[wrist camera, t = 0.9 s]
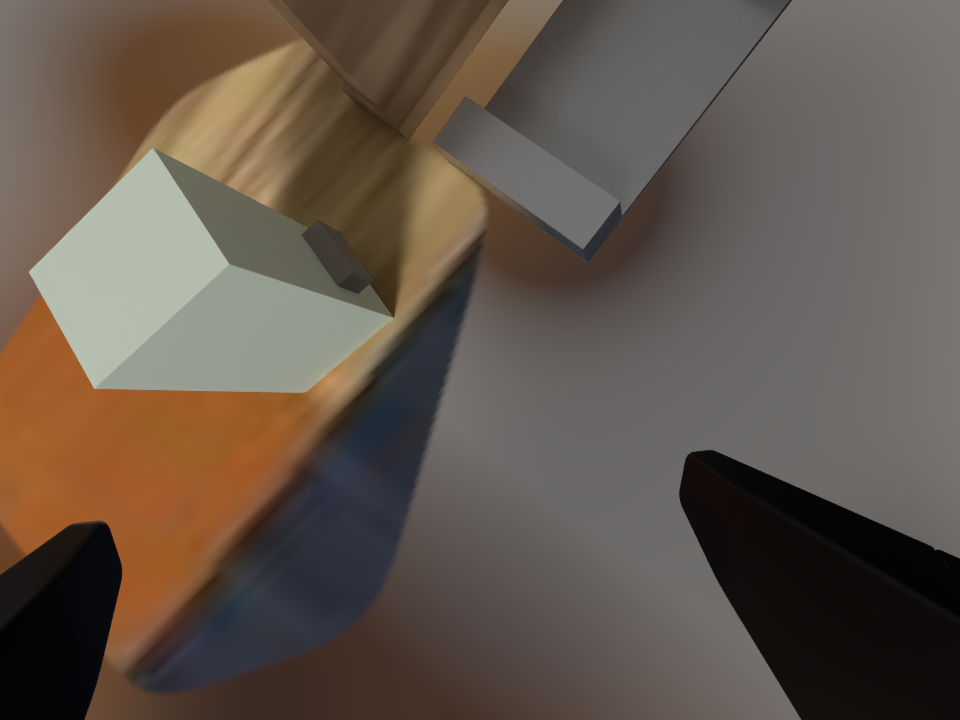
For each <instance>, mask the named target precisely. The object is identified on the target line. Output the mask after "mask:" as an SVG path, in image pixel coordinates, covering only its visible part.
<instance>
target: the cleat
mask: <svg viewBox="0 0 960 720" xmlns="http://www.w3.org/2000/svg"><path fill="white" fill-rule="evenodd" d="M791 1H792V0H563V1H562V3H561V4H560V5H559V7H558V8H557V9H556V11H555V12H554V13H553V15H552V16H551V18H550V19H549V21H548V22H547V23H546V25H545V26H544V27H543V29H542V30H541V31H540V33H539V34H538V36H537V37H536V38H535V40H534V41H533V43H532V44H531V45H530V47H529V48H528V49H527V51H526V52H525V54H524V55H523V56H522V58H521V59H520V60H519V62H518V63H517V64H516V66H515V67H514V69H513V70H512V71H511V73H510V74H509V75H508V77H507V78H506V80H505V81H504V82H503V84H502V85H501V86H500V88H499V89H498V91H497V92H496V93H495V95H494V96H493V97H492V99H491V100H490V102H489V103H488V105H487V106H486V107H485V109H483V108H482V107H480V106H479V105H477V104H475V103H474V102H473V101H471V100H470V99H468V98H467V97H465V98H464V99H463V101H462V102H461V103H460V105H459V106H458V107H457V109H456V110H455V112H454V113H453V114H452V116H451V118H450V119H449V120H448V122H447V123H446V124H445V126H444V127H443V128H442V130H441V131H440V132H439V134H438V135H437V137H436V138H435V139H434V141H433V143H434V144H435V145H436V146H437V148H438V149H439V150H440V151H441V153H442V154H443V155H444V156H445V158H446V159H447V160H448V161H449V162H450V163H451V164H452V165H454V166H455V167H456V168H458V169H459V170H461V171H462V172H463V173H465V174H466V175H468V176H469V177H470V178H472V179H473V180H474V181H476V182H477V183H479V184H480V185H481V186H483V187H484V188H486V189H487V190H488V191H490V192H491V193H493V194H494V195H495V196H497V197H498V198H499V199H501V200H502V201H504V202H505V203H506V204H508V205H509V206H511V207H512V208H513V209H515V210H517V211H518V212H519V213H520V214H522V215H523V216H525V217H526V218H527V219H529V220H530V221H532V222H533V223H534V224H536V225H537V226H539V227H540V228H541V229H543V230H544V231H545V232H547V233H548V234H550V235H551V236H552V237H554V238H555V239H557V240H558V241H559V242H561V243H562V244H564V245H565V246H566V247H568V248H569V249H571V250H572V251H573V252H575V253H576V254H577V255H579V256H580V257H581V258H583V259H584V260H586V261H587V262H589V261H590V260H591V258H592V257H593V256H594V254H595V253H596V252H597V251H598V249H599V248H600V247H601V245H602V244H603V243H604V242H605V240H606V239H607V237H608V236H609V235H610V234H611V232H612V231H613V230H614V229H615V227H616V226H617V225H618V223H619V222H620V221H621V220H622V218H623V217H624V216H625V214H626V213H627V212H628V211H629V209H630V208H631V207H632V205H633V204H634V203H635V201H636V200H637V199H638V198H639V196H640V195H641V194H642V193H643V191H644V190H645V189H646V187H647V186H648V185H649V184H650V182H651V181H652V179H653V178H654V177H655V176H656V175H657V173H658V172H659V171H660V169H661V168H662V167H663V165H664V164H665V163H666V162H667V160H668V159H669V158H670V157H671V155H672V154H673V153H674V151H675V150H676V149H677V147H678V146H679V145H680V144H681V142H682V141H683V140H684V139H685V137H686V136H687V135H688V133H689V132H690V131H691V129H692V128H693V127H694V126H695V124H696V123H697V122H698V121H699V119H700V118H701V116H702V115H703V114H704V113H705V112H706V110H707V109H708V108H709V106H710V105H711V104H712V102H713V101H714V100H715V98H716V97H717V96H718V95H719V93H720V92H721V91H722V90H723V88H724V87H725V86H726V85H727V83H728V82H729V80H730V79H731V78H732V77H733V75H734V74H735V73H736V72H737V70H738V69H739V68H740V66H741V65H742V64H743V62H744V61H745V60H746V59H747V57H748V56H749V55H750V54H751V52H752V51H753V50H754V48H755V47H756V46H757V45H758V43H759V42H760V41H761V39H762V38H763V37H764V35H765V34H766V33H767V32H768V30H769V29H770V28H771V26H772V25H773V24H774V22H775V21H776V20H777V19H778V18H779V16H780V15H781V14H782V12H783V11H784V10H785V9H786V7H787V6H788V4H789V3H790V2H791Z"/></svg>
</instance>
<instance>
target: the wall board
mask: <svg viewBox="0 0 960 720" xmlns="http://www.w3.org/2000/svg"><path fill="white" fill-rule="evenodd" d="M268 1H269V2H270V3H271V4H272V5H273V6H274V8H275V9H276V10H277V11H278V12H279V13H280V14H281V15H282V16H283V17H284V18H285V19H286V20H287V21H288V22H289V23H290V24H291V26H292V27H293V28H294V29H295V30H296V31H297V32H298V33H299V34H300V35H301V36H302V37H303V38H304V39H305V41H306V42H307V43H308V44H309V45H310V46H311V47H312V48H313V49H314V50H315V51H316V52H317V53H318V54H319V55H320V56H321V58H322V59H323V60H324V61H325V62H326V63H327V64H328V65H329V66H330V67H331V68H332V69H333V70H334V71H335V72H336V74H337V75H338V76H339V77H340V78H341V79H342V80H343V81H344V82H345V83H346V85H345V86H344V88H343V90H344V91H345V92H346V94H347V95H348V96H349V97H350V98H351V99H352V100H353V101H354V102H356V103H357V104H359V105H360V106H361V107H363V108H364V109H365V110H367V111H368V112H370V113H371V114H372V115H374V116H375V117H376V118H378V119H379V120H381V121H382V122H383V123H385V124H386V125H388V126H389V127H390V128H392V129H393V130H394V131H396V132H397V133H399V134H400V135H401V136H403V137H404V138H405V139H407V140H409V139H410V137H411V136H412V135H413V133H414V132H415V130H416V129H417V127H418V126H419V125H420V123H421V122H422V121H423V119H424V117H425V116H426V115H427V114H428V112H429V111H430V109H431V108H432V106H433V105H434V104H435V102H436V101H437V100H438V98H439V97H440V95H441V94H442V93H443V91H444V90H445V88H446V87H447V86H448V84H449V83H450V81H451V80H452V79H453V77H454V76H455V74H456V73H457V72H458V70H459V69H460V67H461V66H462V65H463V63H464V62H465V60H466V59H467V57H468V56H469V55H470V53H471V52H472V51H473V49H474V48H475V46H476V45H477V44H478V42H479V41H480V39H481V38H482V37H483V35H484V34H485V32H486V31H487V30H488V28H489V27H490V25H491V24H492V22H493V21H494V20H495V18H496V17H497V16H498V14H499V13H500V11H501V10H502V9H503V7H504V6H505V4H506V3H507V1H508V0H268Z"/></svg>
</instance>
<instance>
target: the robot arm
mask: <svg viewBox="0 0 960 720" xmlns="http://www.w3.org/2000/svg"><path fill="white" fill-rule="evenodd" d="M679 497H680V502H681V505H682V508H683V510H684V512H685V514H686V516H687V518H688V520H689V523H690V525H691V527H692V529H693V531H694V533H695V535H696V537H697V539H698V541H699V544H700V546H701V548H702V550H703V552H704V554H705V556H706V558H707V560H708V563H709V564H710V567H711V569H712V571H713V573H714V575H715V577H716V579H717V581H718V583H719V584H720V586H721V588H722V590H723V591H724V593H725V595H726V596H727V598H728V599H729V602H730V603H731V605H732V606H733V608H734V610H735V611H736V613H737V615H738V616H739V618H740V620H741V621H742V623H743V624H744V626H745V628H746V629H747V631H748V633H749V634H750V636H751V638H752V639H753V641H754V643H755V644H756V646H757V648H758V649H759V651H760V653H761V654H762V656H763V657H764V659H765V661H766V662H767V664H768V666H769V667H770V669H771V671H772V672H773V674H774V676H775V677H776V679H777V681H778V682H779V684H780V685H781V687H782V689H783V690H784V692H785V694H786V695H787V697H788V698H789V700H790V702H791V703H792V705H793V707H794V708H795V710H796V712H797V713H798V715H799V717H800V718H801V720H960V558H957V557H955V556H953V555H950V554H948V553H946V552H944V551H941V550H935V549H934V548H933V547H932V546H930V545H928V544H925V543H923V542H921V541H918V540H916V539H914V538H911V537H909V536H907V535H905V534H902V533H900V532H898V531H896V530H893V529H891V528H889V527H886V526H884V525H882V524H879V523H877V522H875V521H873V520H871V519H868V518H866V517H864V516H862V515H859V514H857V513H855V512H853V511H850V510H848V509H846V508H843V507H841V506H839V505H836V504H834V503H832V502H830V501H827V500H825V499H823V498H821V497H818V496H816V495H814V494H812V493H809V492H807V491H805V490H803V489H800V488H798V487H796V486H793V485H791V484H789V483H787V482H784V481H782V480H780V479H778V478H775V477H773V476H771V475H769V474H766V473H764V472H762V471H759V470H757V469H755V468H752V467H750V466H748V465H745V464H744V463H741V462H739V461H737V460H734V459H732V458H730V457H728V456H725V455H723V454H721V453H718V452H716V451H713V450H705V451H696V452H691V453H690V454H688V456H687V457H686V460H685V465H684V470H683V475H682V480H681V485H680V491H679ZM121 580H122V565H121V561H120V558H119V555H118V552H117V549H116V546H115V543H114V540H113V537H112V534H111V531H110V528H109V526H108V525H107V524H106V523H105V522H103V521H91V522H82V523H75V524H72V525H70V526H68V527H66V528H65V529H64V530H62V531H61V532H59V533H58V534H57V535H55V536H54V537H52V538H51V539H50V540H48V541H47V542H45V543H44V544H43V545H41V546H40V547H38V548H37V549H36V550H34V551H33V552H31V553H30V554H29V555H27V556H26V557H24V558H23V559H22V560H21V561H19V562H18V563H16V564H15V565H13V566H12V567H11V568H9V569H8V570H6V571H5V572H4V573H2V574H1V575H0V720H85V716H86V714H87V711H88V708H89V706H90V703H91V700H92V696H93V693H94V691H95V687H96V684H97V681H98V677H99V673H100V669H101V666H102V661H103V657H104V653H105V649H106V644H107V640H108V636H109V631H110V627H111V623H112V619H113V614H114V610H115V606H116V602H117V597H118V593H119V589H120V585H121Z"/></svg>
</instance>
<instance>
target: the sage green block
mask: <svg viewBox="0 0 960 720" xmlns="http://www.w3.org/2000/svg"><path fill="white" fill-rule="evenodd" d="M29 273H30V275H31V276H32V278H33V280H34V282H35V284H36V285H37V287H38V289H39V291H40V293H41V294H42V296H43V298H44V300H45V302H46V303H47V305H48V307H49V309H50V310H51V312H52V314H53V316H54V318H55V319H56V321H57V323H58V325H59V326H60V328H61V330H62V332H63V334H64V335H65V337H66V339H67V341H68V343H69V344H70V346H71V348H72V350H73V351H74V353H75V355H76V357H77V359H78V360H79V362H80V364H81V366H82V368H83V369H84V371H85V373H86V375H87V376H88V378H89V380H90V382H91V384H92V385H93V387H94V389H140V390H191V391H242V392H293V393H306V392H307V391H308V390H309V389H310V388H311V387H313V386H314V385H315V384H316V383H317V382H319V381H320V380H321V379H322V378H323V377H325V376H326V375H327V374H328V373H329V372H330V371H332V370H333V369H334V368H335V367H336V366H338V365H339V364H340V363H341V362H342V361H343V360H345V359H346V358H347V357H348V356H349V355H351V354H352V353H353V352H354V351H355V350H357V349H358V348H359V347H360V346H361V345H362V344H364V343H365V342H366V341H367V340H368V339H370V338H371V337H372V336H373V335H374V334H376V333H377V332H378V331H379V330H380V329H381V328H383V327H384V326H385V325H386V324H387V323H389V322H390V321H391V320H392V319H393V318H394V317H393V316H392V315H391V313H390V312H389V310H388V309H387V308H386V306H385V305H384V303H383V302H382V301H381V299H380V298H379V296H378V295H377V294H376V292H375V291H374V290H373V288H372V287H371V285H370V283H371V282H373V281H374V279H373V278H372V276H371V275H370V273H369V272H368V271H367V269H366V268H365V267H364V265H363V264H362V262H361V261H360V260H359V258H358V257H357V255H356V254H355V253H354V251H353V250H352V248H351V247H350V246H349V244H348V243H347V241H346V240H345V239H344V237H343V236H342V235H341V233H340V232H339V231H337V230H335V229H333V228H331V227H330V226H328V225H326V224H324V223H322V222H320V221H319V220H317V221H316V222H315V223H314V224H313V225H312V226H310V227H309V228H308V227H306V226H304V225H302V224H300V223H298V222H296V221H294V220H292V219H290V218H289V217H287V216H285V215H283V214H281V213H279V212H277V211H275V210H273V209H271V208H269V207H267V206H265V205H263V204H261V203H259V202H257V201H255V200H254V199H252V198H250V197H248V196H246V195H244V194H242V193H240V192H238V191H236V190H234V189H232V188H230V187H228V186H226V185H224V184H222V183H220V182H218V181H217V180H215V179H213V178H211V177H209V176H207V175H205V174H203V173H201V172H199V171H197V170H195V169H193V168H191V167H189V166H187V165H185V164H183V163H182V162H180V161H178V160H176V159H174V158H172V157H170V156H168V155H166V154H164V153H162V152H160V151H158V150H156V149H154V148H152V149H151V150H150V151H149V152H148V153H147V154H146V155H145V156H144V157H143V158H142V159H141V160H140V161H139V162H138V163H137V164H136V165H135V166H134V167H133V168H132V169H131V170H130V171H129V172H128V173H127V174H126V175H125V176H124V177H123V178H122V179H121V180H120V181H119V182H118V183H117V184H116V185H115V186H114V187H113V188H112V189H111V190H110V191H109V192H108V193H107V194H106V195H105V196H104V197H103V198H102V199H101V200H100V201H99V202H98V203H97V204H96V205H95V206H94V207H93V208H92V209H91V210H90V212H89V213H87V214H86V215H85V216H84V217H83V218H82V220H80V221H79V222H78V223H77V224H76V225H75V226H74V227H73V228H72V229H71V230H70V231H69V232H68V233H67V234H66V235H65V236H64V237H63V238H62V239H61V240H60V241H59V242H58V243H57V244H56V245H55V246H54V248H52V249H51V250H50V252H48V253H47V254H46V255H45V256H44V257H43V258H42V259H41V260H40V261H39V262H38V263H37V264H36V265H35V267H33V268H32V269H31V270H30V271H29Z"/></svg>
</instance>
